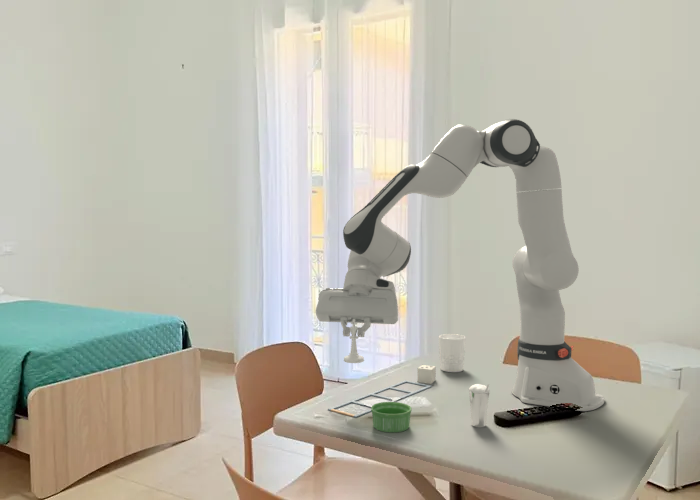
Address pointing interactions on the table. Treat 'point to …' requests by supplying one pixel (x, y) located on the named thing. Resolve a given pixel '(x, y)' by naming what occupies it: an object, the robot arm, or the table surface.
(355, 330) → the chess piece
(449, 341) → the white cup
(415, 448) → the table surface
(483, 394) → the milkshake
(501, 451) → the table surface
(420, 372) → the die
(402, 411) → the ramekin
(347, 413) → the ladder
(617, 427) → the table surface
